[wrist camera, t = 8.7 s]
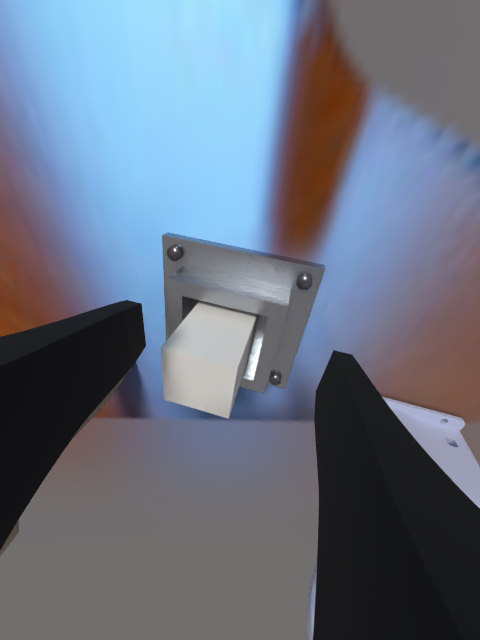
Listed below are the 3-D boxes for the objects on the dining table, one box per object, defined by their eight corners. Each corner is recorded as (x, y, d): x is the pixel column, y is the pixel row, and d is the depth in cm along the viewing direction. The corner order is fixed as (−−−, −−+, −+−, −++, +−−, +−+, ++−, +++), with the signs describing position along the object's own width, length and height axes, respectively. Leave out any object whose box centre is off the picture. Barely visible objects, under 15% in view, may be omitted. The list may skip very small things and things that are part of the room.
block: (261, 302, 18) (237, 368, 12) (252, 345, 20) (228, 418, 14) (208, 290, 18) (161, 347, 12) (205, 333, 20) (163, 399, 15)
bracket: (324, 265, 16) (327, 286, 13) (285, 382, 22) (281, 414, 19) (167, 232, 18) (139, 245, 15) (170, 350, 24) (151, 376, 21)
